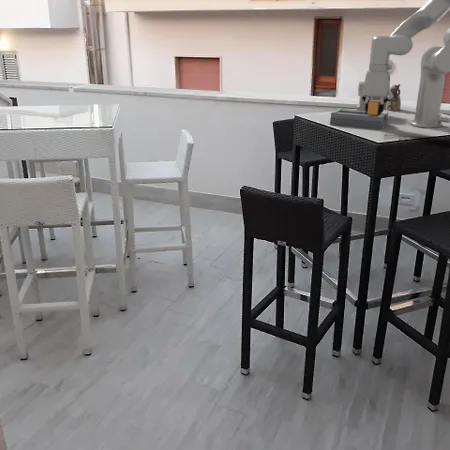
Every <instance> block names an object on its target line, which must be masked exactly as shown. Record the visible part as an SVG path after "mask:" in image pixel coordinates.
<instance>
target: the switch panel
mask: <svg viewBox="0 0 450 450" xmlns="http://www.w3.org/2000/svg"><path fill="white" fill-rule="evenodd" d="M388 117H389V112H387V111H383V112H382V113H381V114H378V115H369V114H367V113H366V111H359V110H355V109H345V108H344V109H343V108H341V107H338V108H337V109H335V110H333V111H332V112H330V120H329V121H330V122H329V125H330V126H341V127H351V128H361V129H374V130H380V129H381V130H383V129H384V128H385V127H386V126H387V124H388V121H389V119H388ZM384 126H385V127H384ZM383 127H384V128H383Z"/></svg>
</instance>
